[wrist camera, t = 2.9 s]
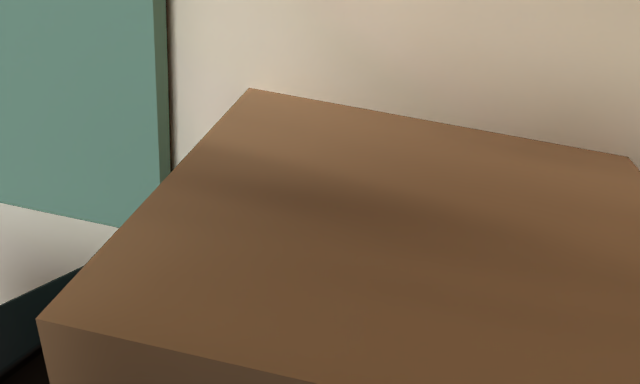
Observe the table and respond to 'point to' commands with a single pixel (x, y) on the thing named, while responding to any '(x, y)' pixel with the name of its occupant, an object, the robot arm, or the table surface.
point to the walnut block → (362, 260)
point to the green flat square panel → (83, 106)
